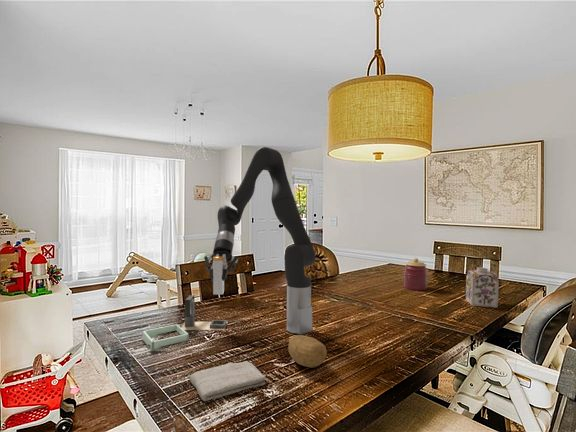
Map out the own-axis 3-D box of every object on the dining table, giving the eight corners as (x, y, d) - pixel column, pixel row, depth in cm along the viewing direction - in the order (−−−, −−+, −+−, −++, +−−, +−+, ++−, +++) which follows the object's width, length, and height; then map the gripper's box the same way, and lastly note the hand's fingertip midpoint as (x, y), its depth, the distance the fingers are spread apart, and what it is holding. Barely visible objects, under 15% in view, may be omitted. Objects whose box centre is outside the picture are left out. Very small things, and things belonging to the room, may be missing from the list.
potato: (303, 352, 112) (304, 328, 111) (334, 369, 100) (334, 342, 100) (279, 360, 106) (279, 334, 106) (309, 378, 95) (309, 350, 94)
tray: (188, 342, 118) (188, 334, 118) (152, 351, 111) (152, 342, 111) (176, 332, 128) (176, 324, 128) (142, 339, 121) (142, 330, 121)
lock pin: (225, 291, 134) (224, 256, 134) (223, 294, 130) (223, 257, 130) (214, 292, 134) (214, 256, 134) (212, 294, 130) (211, 257, 130)
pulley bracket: (227, 324, 137) (228, 294, 137) (224, 332, 128) (224, 300, 128) (185, 324, 137) (185, 294, 136) (178, 332, 128) (178, 300, 127)
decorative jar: (471, 306, 166) (472, 269, 166) (465, 299, 177) (465, 265, 177) (498, 308, 163) (500, 270, 163) (490, 301, 175) (491, 266, 174)
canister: (429, 287, 204) (429, 257, 204) (424, 291, 193) (425, 260, 193) (406, 284, 211) (407, 255, 211) (401, 288, 200) (401, 258, 200)
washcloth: (268, 385, 92) (268, 374, 92) (202, 405, 82) (202, 392, 82) (249, 367, 102) (249, 357, 102) (188, 383, 92) (188, 372, 92)
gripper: (205, 238, 139) (196, 273, 127) (240, 238, 139) (234, 273, 127) (208, 249, 145) (201, 284, 133) (242, 249, 144) (237, 284, 132)
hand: (217, 279), depth 130 cm, fingers closed on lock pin, 3 cm apart
